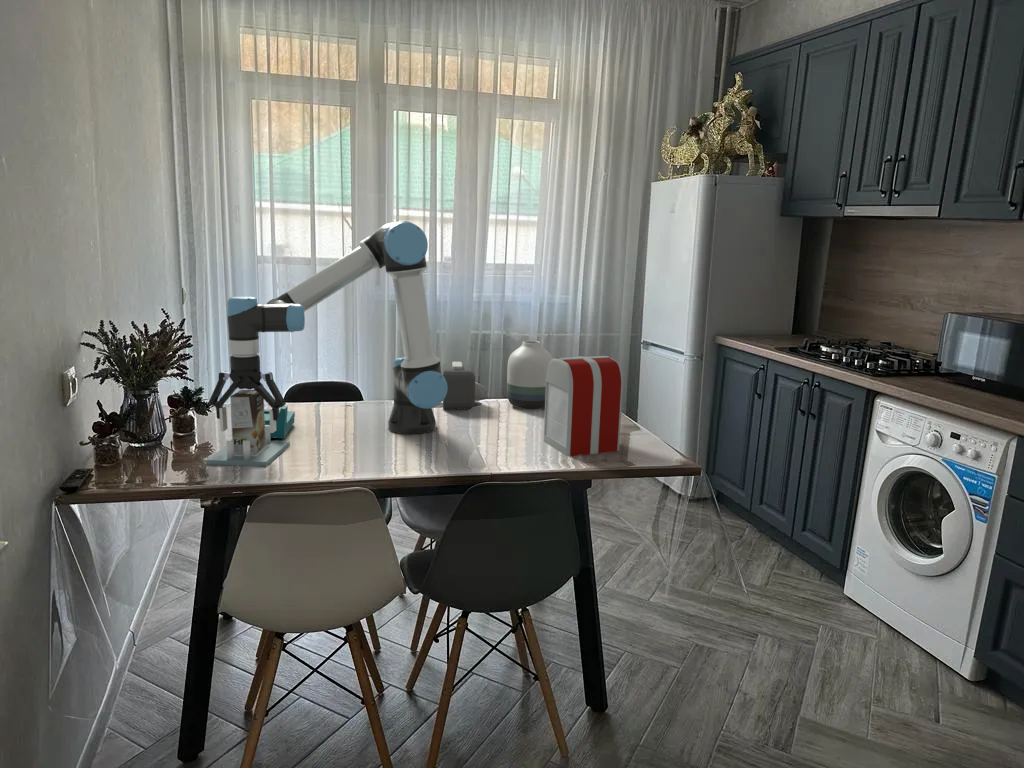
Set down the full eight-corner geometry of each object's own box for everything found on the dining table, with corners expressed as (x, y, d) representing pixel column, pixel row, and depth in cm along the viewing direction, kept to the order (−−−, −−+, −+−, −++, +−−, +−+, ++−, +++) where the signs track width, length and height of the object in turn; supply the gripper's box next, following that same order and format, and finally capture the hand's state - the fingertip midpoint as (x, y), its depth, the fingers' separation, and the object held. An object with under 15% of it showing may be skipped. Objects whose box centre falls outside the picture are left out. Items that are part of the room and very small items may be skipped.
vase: (553, 412, 249) (556, 346, 244) (505, 411, 249) (507, 344, 244) (551, 401, 266) (554, 339, 261) (507, 400, 266) (508, 338, 261)
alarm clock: (442, 400, 263) (442, 359, 260) (472, 400, 264) (473, 360, 261) (443, 411, 247) (443, 368, 244) (475, 411, 248) (475, 368, 245)
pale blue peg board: (290, 445, 203) (289, 424, 201) (266, 466, 184) (265, 443, 183) (235, 443, 203) (233, 422, 202) (206, 464, 184) (204, 441, 183)
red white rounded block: (542, 440, 214) (545, 354, 209) (592, 436, 221) (597, 351, 215) (567, 456, 199) (571, 363, 194) (620, 450, 206) (626, 360, 201)
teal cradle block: (283, 442, 207) (285, 408, 205) (245, 440, 205) (247, 405, 203) (293, 426, 225) (295, 395, 223) (259, 424, 223) (260, 392, 221)
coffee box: (257, 454, 189) (254, 396, 186) (232, 454, 189) (229, 396, 185) (266, 444, 198) (263, 389, 195) (243, 444, 197) (240, 389, 194)
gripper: (295, 353, 191) (298, 428, 196) (204, 351, 192) (209, 425, 196) (286, 358, 184) (289, 436, 188) (192, 355, 184) (197, 433, 189)
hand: (248, 431), depth 192 cm, fingers open, 13 cm apart
